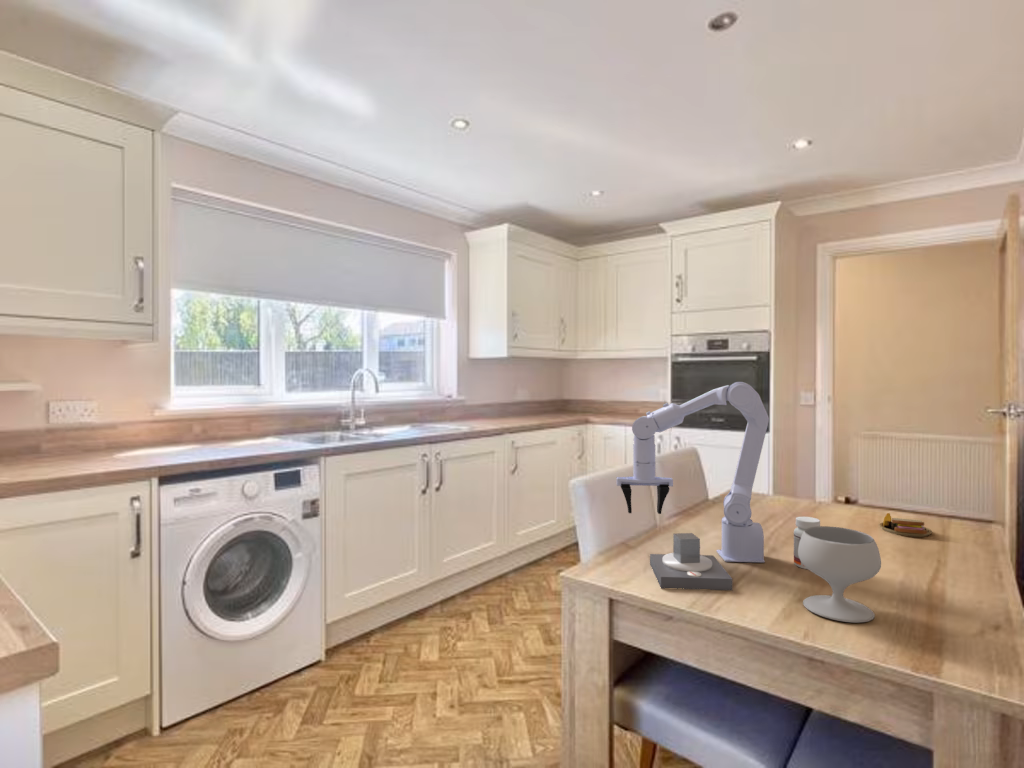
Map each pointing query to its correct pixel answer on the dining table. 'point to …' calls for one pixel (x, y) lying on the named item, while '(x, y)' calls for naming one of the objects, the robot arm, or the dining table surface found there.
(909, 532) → the toy sandwich meal
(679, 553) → the block
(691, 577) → the kitchen scale
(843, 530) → the chalice
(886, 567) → the dining table surface
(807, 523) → the pill bottle
